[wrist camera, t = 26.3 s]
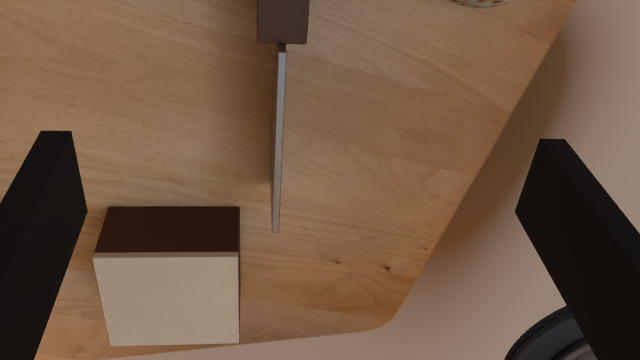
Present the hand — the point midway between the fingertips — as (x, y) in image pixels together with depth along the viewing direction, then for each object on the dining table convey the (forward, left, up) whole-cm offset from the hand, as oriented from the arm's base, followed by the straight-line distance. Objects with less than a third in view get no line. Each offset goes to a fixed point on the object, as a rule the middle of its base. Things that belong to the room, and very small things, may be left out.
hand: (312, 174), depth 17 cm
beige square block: (-26, +8, -25) cm, 37 cm away
